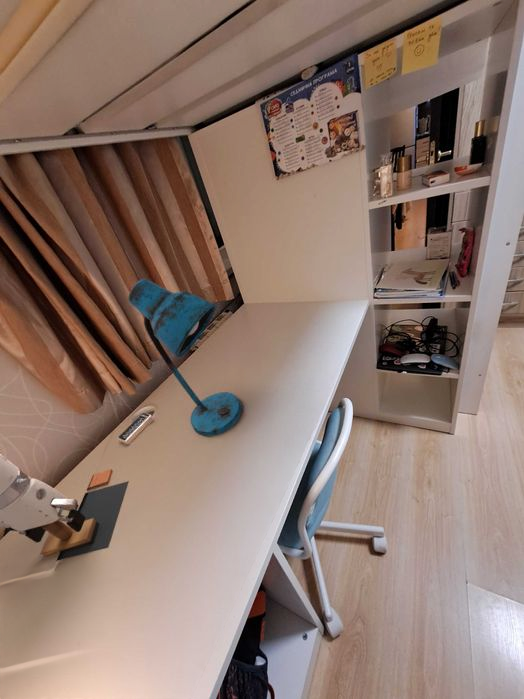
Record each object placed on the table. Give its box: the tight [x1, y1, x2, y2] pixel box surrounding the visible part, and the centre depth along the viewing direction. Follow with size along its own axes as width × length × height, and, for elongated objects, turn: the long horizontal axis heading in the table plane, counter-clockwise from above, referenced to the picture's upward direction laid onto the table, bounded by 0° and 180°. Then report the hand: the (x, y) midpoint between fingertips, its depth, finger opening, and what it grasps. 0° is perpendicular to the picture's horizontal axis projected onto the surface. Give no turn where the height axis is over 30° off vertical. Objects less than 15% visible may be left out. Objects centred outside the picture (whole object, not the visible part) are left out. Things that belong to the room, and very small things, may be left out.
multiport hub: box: [117, 412, 155, 446], centre depth 93 cm, size 4×11×2 cm, turn 149°
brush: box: [39, 519, 99, 557], centre depth 65 cm, size 11×4×9 cm, turn 99°
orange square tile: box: [93, 468, 114, 489], centre depth 80 cm, size 4×4×1 cm
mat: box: [55, 480, 130, 562], centre depth 71 cm, size 20×16×1 cm
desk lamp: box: [127, 278, 243, 437], centre depth 76 cm, size 16×22×45 cm
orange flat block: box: [86, 473, 98, 492], centre depth 80 cm, size 4×4×1 cm
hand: (62, 530), depth 65 cm, fingers open, 9 cm apart
